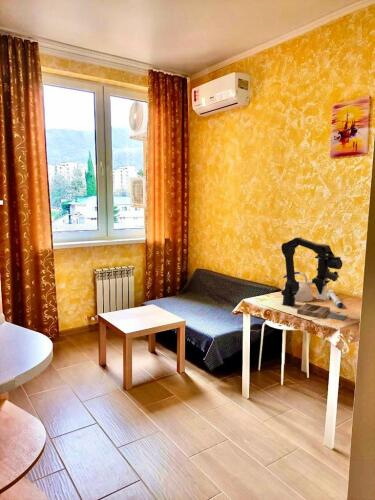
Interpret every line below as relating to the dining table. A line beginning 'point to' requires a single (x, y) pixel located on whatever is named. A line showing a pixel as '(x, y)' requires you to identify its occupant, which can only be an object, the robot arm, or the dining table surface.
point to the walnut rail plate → (307, 311)
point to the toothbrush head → (334, 298)
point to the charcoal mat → (336, 316)
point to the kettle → (303, 290)
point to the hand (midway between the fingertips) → (321, 293)
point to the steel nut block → (323, 295)
